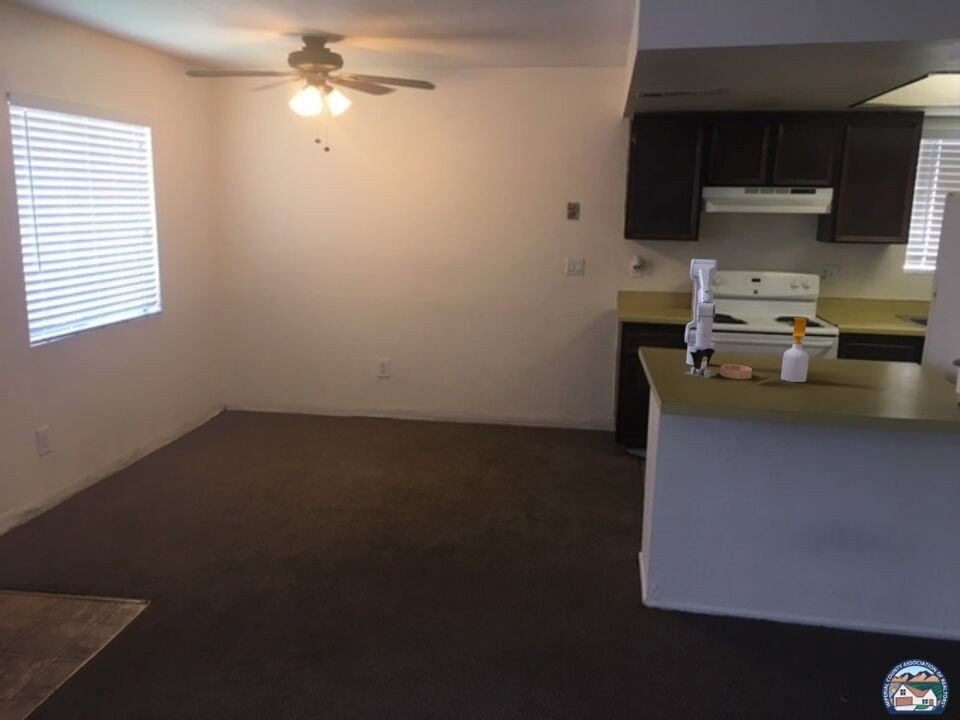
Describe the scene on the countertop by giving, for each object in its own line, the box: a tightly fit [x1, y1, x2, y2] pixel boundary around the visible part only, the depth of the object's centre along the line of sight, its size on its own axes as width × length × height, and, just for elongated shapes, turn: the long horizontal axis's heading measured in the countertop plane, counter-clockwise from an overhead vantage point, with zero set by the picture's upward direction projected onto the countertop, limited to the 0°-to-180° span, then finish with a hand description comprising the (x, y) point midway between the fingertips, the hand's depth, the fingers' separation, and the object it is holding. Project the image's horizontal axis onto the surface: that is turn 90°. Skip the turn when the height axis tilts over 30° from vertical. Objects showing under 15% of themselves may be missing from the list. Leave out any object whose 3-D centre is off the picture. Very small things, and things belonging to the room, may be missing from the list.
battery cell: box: [695, 356, 707, 375], centre depth 282 cm, size 4×4×7 cm
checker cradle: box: [684, 366, 717, 379], centre depth 283 cm, size 8×10×3 cm
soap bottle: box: [780, 317, 810, 383], centre depth 278 cm, size 9×9×25 cm
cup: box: [720, 364, 753, 380], centre depth 281 cm, size 11×11×4 cm
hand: (700, 367), depth 282 cm, fingers open, 5 cm apart
